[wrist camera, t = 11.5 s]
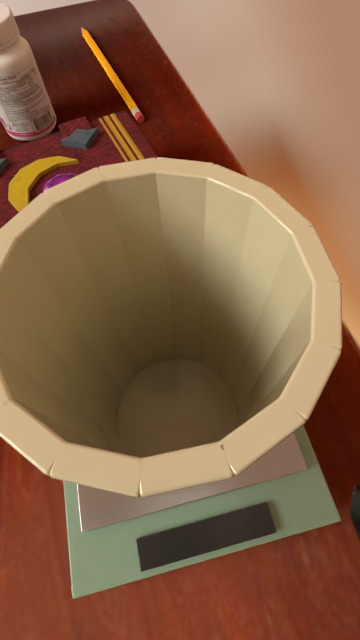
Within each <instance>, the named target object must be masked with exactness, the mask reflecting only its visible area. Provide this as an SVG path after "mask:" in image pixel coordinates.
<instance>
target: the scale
mask: <svg viewBox="0 0 360 640" xmlns="http://www.w3.org/2000/svg"><path fill="white" fill-rule="evenodd" d="M63 484H64V497H65V510H66V523H67V535H68V548H69V561H70V574H71V587H72V597H73V599H76V598H79V597H83V596H86V595H90V594H93V593H96V592H100V591H103V590H107V589H110V588H114V587H117V586H120V585H124V584H127V583H131V582H134V581H138V580H141V579H144V578H148V577H151V576H155V575H158V574H161V573H165V572H168V571H172V570H175V569H179V568H182V567H185V566H189V565H192V564H196V563H199V562H203V561H206V560H209V559H213V558H216V557H220V556H223V555H227V554H230V553H233V552H237V551H240V550H244V549H247V548H251V547H254V546H257V545H261V544H264V543H268V542H271V541H275V540H278V539H281V538H285V537H288V536H292V535H295V534H299V533H302V532H305V531H309V530H312V529H316V528H319V527H323V526H326V525H329V524H333V523H336V522H340V521H341V518H340V515H339V513H338V510H337V508H336V505H335V503H334V500H333V498H332V495H331V493H330V490H329V488H328V485H327V483H326V480H325V478H324V475H323V473H322V470H321V468H320V465H319V463H318V460H317V458H316V455H315V453H314V450H313V448H312V445H311V443H310V440H309V438H308V435H307V433H306V430H305V428H304V425H303V426H302V427H300V428H299V429H298V430H296V431H295V432H294V433H292V434H291V435H290V436H289V437H287V438H286V439H285V440H283V441H282V442H281V443H279V444H278V445H277V446H276V447H274V448H273V449H272V450H270V451H269V452H268V453H266V454H265V455H264V456H263V457H261V458H260V459H259V460H257V461H256V462H255V463H253V464H252V465H251V466H249V467H248V468H247V469H246V470H244V471H243V472H242V473H240V474H239V475H237V476H234V477H232V478H231V479H228V480H225V481H223V482H220V483H218V484H215V485H213V486H210V487H207V488H205V489H200V490H196V491H192V492H187V493H182V494H178V495H167V496H156V497H145V498H144V497H131V496H127V495H122V494H118V493H114V492H109V491H105V490H101V489H96V488H92V487H88V486H83V485H79V484H75V483H70V482H66V481H63Z"/></svg>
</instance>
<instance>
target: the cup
mask: <svg viewBox="0 0 360 640" xmlns="http://www.w3.org/2000/svg"><path fill="white" fill-rule="evenodd" d="M341 298H342V294H341V282H340V278H339V276H338V274H337V272H336V270H335V268H334V266H333V264H332V261H331V260H330V257H329V255H328V253H327V251H326V250H325V248H324V245H323V244H322V241H321V239H320V237H319V235H318V233H317V231H316V229H315V227H313V226H312V223H310V221H308V220H307V219H306V218H305V217H304V216H303V215H302V214H301V213H299V212H298V211H297V210H296V209H295V208H293V206H291V205H290V204H289V203H288V202H287V201H286V200H285V199H283V198H282V197H281V196H280V195H279V194H278V193H277V192H275V191H274V190H273V189H272V188H271V187H268V186H267V185H266V184H263V183H261V182H258V181H256V180H254V179H251V178H249V177H246V176H244V175H242V174H239V173H237V172H234V171H232V170H230V169H227V168H225V167H222V166H220V165H218V164H215V165H214V163H209V162H200V161H190V160H181V159H172V158H163V157H157V158H154V157H153V158H147V159H141V160H135V161H129V162H122V163H116V164H110V165H104V166H100V167H99V168H98V167H95V168H93V169H91V170H88V171H86V172H84V173H82V174H80V175H77V176H75V177H73V178H71V179H69V180H66V181H64V182H62V183H60V184H58V185H55V186H53V187H51V188H49V189H47V190H45V191H44V193H40V194H39V195H38V196H37V197H36V198H35V199H34V200H32V201H31V202H30V203H29V204H28V205H27V206H26V207H24V208H23V209H22V210H21V211H20V212H19V213H18V214H16V215H15V216H14V217H13V218H12V219H11V220H10V221H8V222H7V223H6V224H5V225H4V226H3V227H2V228H0V437H1V438H2V439H3V440H4V441H6V442H7V443H8V444H9V445H10V446H12V447H13V448H14V449H15V450H16V451H17V452H19V453H20V454H21V455H22V456H23V457H25V458H26V459H27V460H28V461H29V462H30V463H32V464H33V465H34V466H35V467H36V468H38V469H39V470H40V471H41V472H42V473H43V474H45V475H49V476H50V477H51V478H53V479H57V480H62V481H66V482H70V483H75V484H79V485H83V486H88V487H92V488H96V489H101V490H105V491H109V492H114V493H118V494H122V495H127V496H131V497H144V498H145V497H156V496H167V495H178V494H182V493H187V492H192V491H196V490H200V489H205V488H207V487H210V486H213V485H215V484H218V483H220V482H223V481H225V480H228V479H231V478H232V477H234V476H237V475H239V474H240V473H242V472H243V471H244V470H246V469H247V468H248V467H249V466H251V465H252V464H253V463H255V462H256V461H257V460H259V459H260V458H261V457H263V456H264V455H265V454H266V453H268V452H269V451H270V450H272V449H273V448H274V447H276V446H277V445H278V444H279V443H281V442H282V441H283V440H285V439H286V438H287V437H289V436H290V435H291V434H292V433H294V432H295V431H296V430H298V429H299V428H300V427H302V426H303V425H304V424H305V421H306V420H308V419H309V418H310V416H311V414H312V411H313V409H314V407H315V405H316V403H317V401H318V399H319V397H320V395H321V393H322V391H323V389H324V387H325V385H326V383H327V381H328V379H329V377H330V375H331V373H332V371H333V369H334V367H335V365H336V363H337V361H338V359H339V357H340V355H341V349H342V299H341Z"/></svg>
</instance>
